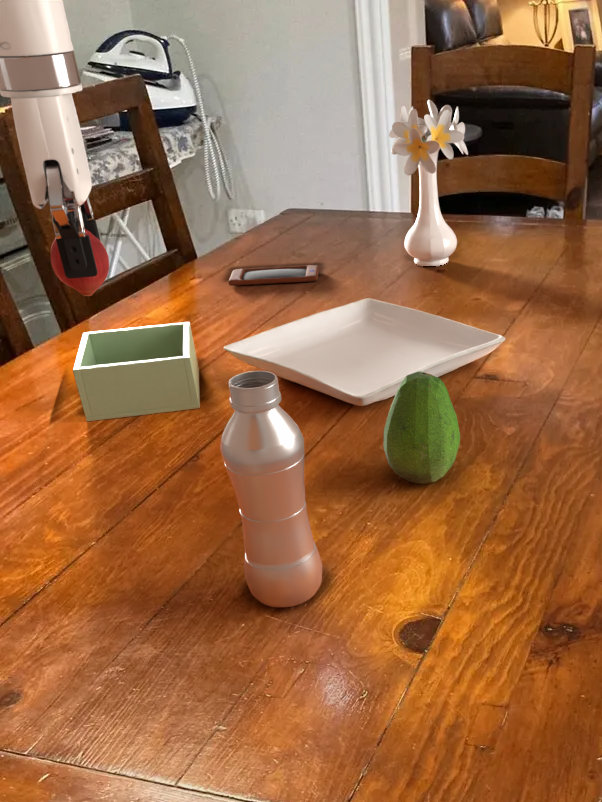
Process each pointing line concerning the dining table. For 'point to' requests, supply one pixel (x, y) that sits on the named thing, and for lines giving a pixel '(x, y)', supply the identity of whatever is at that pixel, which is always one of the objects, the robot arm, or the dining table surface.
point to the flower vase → (428, 178)
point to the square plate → (364, 349)
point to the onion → (83, 284)
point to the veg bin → (137, 371)
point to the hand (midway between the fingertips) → (85, 266)
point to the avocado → (421, 429)
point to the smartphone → (274, 275)
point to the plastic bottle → (270, 492)
